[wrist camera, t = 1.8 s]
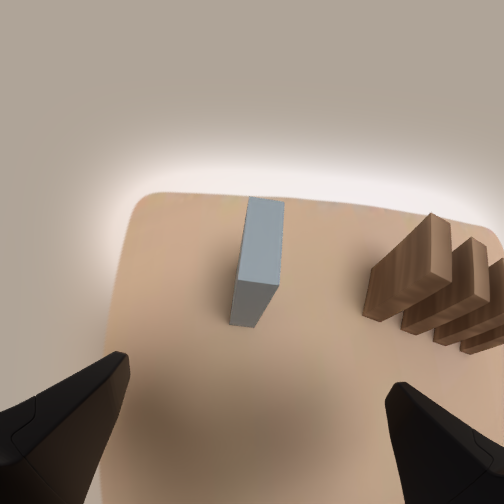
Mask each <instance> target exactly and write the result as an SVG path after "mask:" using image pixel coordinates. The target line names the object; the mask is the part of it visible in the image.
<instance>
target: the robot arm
mask: <svg viewBox="0 0 504 504" xmlns="http://www.w3.org/2000/svg"><path fill="white" fill-rule="evenodd" d="M129 379H130V366H129V357H128V355H127V354H126V353H122V352H119V351H115V352H113V353H111V354H109V355H107V356H106V357H104V358H102V359H100V360H99V361H97V362H95V363H93V364H91V365H90V366H88V367H86V368H84V369H82V370H81V371H79V372H77V373H75V374H73V375H72V376H70V377H68V378H66V379H64V380H63V381H61V382H59V383H57V384H55V385H54V386H52V387H50V388H48V389H46V390H44V391H42V392H41V393H39V394H37V395H36V396H33V397H31V398H29V399H28V400H26V401H24V402H22V403H20V404H18V405H16V406H13V407H11V408H9V409H6V410H4V411H2V412H0V504H83V503H84V501H85V498H86V495H87V492H88V490H89V487H90V485H91V482H92V479H93V477H94V474H95V471H96V469H97V466H98V464H99V461H100V459H101V456H102V454H103V452H104V449H105V447H106V444H107V442H108V440H109V437H110V435H111V432H112V430H113V428H114V425H115V423H116V421H117V418H118V415H119V412H120V409H121V405H122V402H123V399H124V395H125V392H126V389H127V386H128V382H129ZM385 408H386V414H387V420H388V427H389V433H390V439H391V443H392V447H393V451H394V455H395V459H396V463H397V468H398V472H399V476H400V481H401V485H402V490H403V495H404V500H405V504H504V447H502V446H501V445H499V444H497V443H495V442H493V441H492V440H490V439H488V438H487V437H485V436H483V435H482V434H480V433H479V432H477V431H476V430H474V429H472V428H471V427H470V426H469V425H467V424H466V423H464V422H463V421H461V420H460V419H458V418H457V417H455V416H454V415H452V414H451V413H450V412H448V411H447V410H445V409H444V408H442V407H441V406H439V405H438V404H437V403H435V402H434V401H432V400H431V399H429V398H428V397H427V396H425V395H424V394H422V393H421V392H419V391H418V390H417V389H415V388H414V387H412V386H411V385H409V384H408V383H406V382H397V383H395V384H394V385H393V387H392V388H391V390H390V392H389V393H388V395H387V397H386V399H385Z"/></svg>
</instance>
